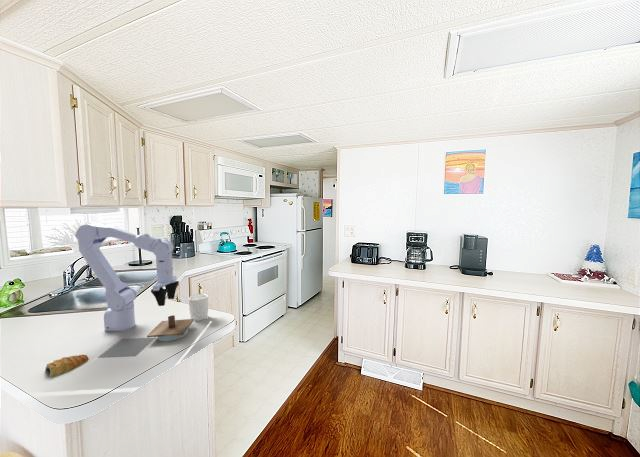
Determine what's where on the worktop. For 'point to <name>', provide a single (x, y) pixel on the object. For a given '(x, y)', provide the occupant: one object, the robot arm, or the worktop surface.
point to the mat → (127, 347)
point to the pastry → (65, 364)
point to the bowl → (171, 337)
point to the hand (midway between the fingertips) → (166, 302)
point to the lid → (171, 327)
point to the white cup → (198, 307)
